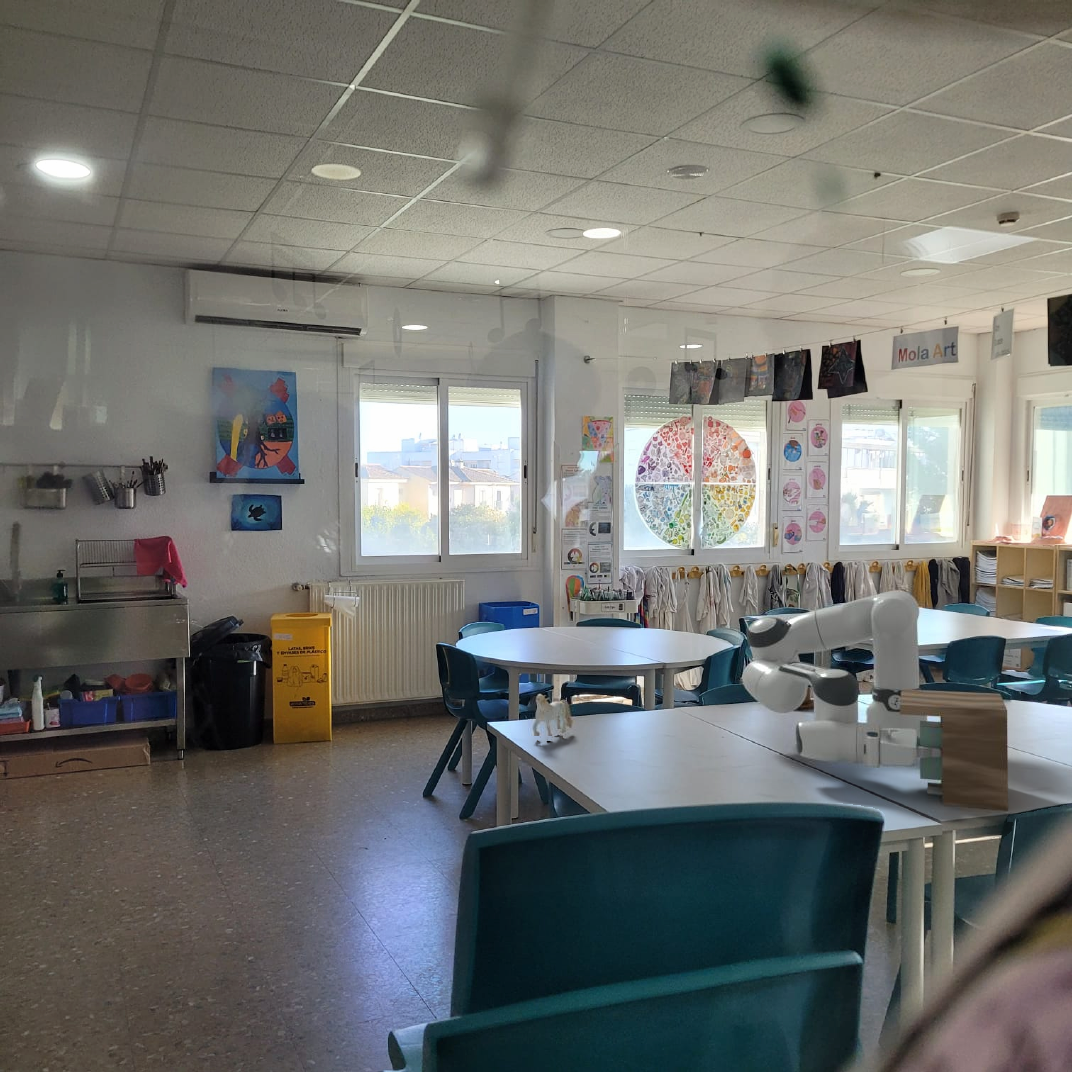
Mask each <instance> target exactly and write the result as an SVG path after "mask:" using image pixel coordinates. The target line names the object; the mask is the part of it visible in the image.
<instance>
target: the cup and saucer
mask: <svg viewBox="0 0 1072 1072" xmlns="http://www.w3.org/2000/svg"><path fill="white" fill-rule="evenodd" d="M812 708H813V709H814V699H812V700H811V687H809V686H808V688H807V695H806V698H805V700H804V701H803V703H802V704H801V705H800V706H799V707H798V708H797V709H796V710H807V709H812Z"/></svg>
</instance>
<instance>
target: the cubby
mask: <svg viewBox="0 0 1072 1072" xmlns="http://www.w3.org/2000/svg"><path fill="white" fill-rule="evenodd" d="M900 714H902V715H920V716H927V717H940V720H939V722H942V780H940V783H939V782H927V794H929V795H936V796H937V795H938V796H939V795H940V796H942V805H943V806H948V807H949V806H951V807H953V806H954V807H960V808H961V807H963V808H976V809H984V810H985V809H987V810H998V811H999V810H1001V811H1009V792H1008V791H1009V785H1008V784H1009V782H1008V781H1009V779H1008V777H1009V773H1008V772H1009V769H1008V768H1009V767H1008V764H1009V763H1008V761H1009V759H1008V756H1009V755H1008V708H1007V706H1006V704H1005V701H1004V699H1003V697H1002V695H1001V693H989V692H988V693H987V692H969V691H968V692H965V691H944V690H923V689H921V690H904V689H902V690H901V699H900Z"/></svg>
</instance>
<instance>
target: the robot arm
mask: <svg viewBox="0 0 1072 1072" xmlns="http://www.w3.org/2000/svg"><path fill="white" fill-rule="evenodd" d="M919 616H920V606H919V603H918V601H917V600H916V598H915V597H914V596H913V595H912V594H910V593H908V591H907V592H906V591H904V590H897V589H895V590H888V591H885V592H881V593H877V594H874V595H870V596H866V597H863V598H859V599H855V600H852V601H849V602H844V603H840V604H835V605H833V606H832V605H831V606H828V607H827V606H826V607H824V608H819V609H815V610H811V611H807V612H804V613H801V614H799V615H797V616H794V617H792V618H790V619H787V620H785V619H781V618H778V617H774V616H764V617H762V618H758V619H756V620H754V621H753V622H752V623H751V624H750V625H749V626H748V628H747V629H746V639H747V644H748V646H749V647H750V651H751V654H752V658H753V660H752V661H751V662H749V663H748V664H747V666H746V667H745V668H744V670H743V672H742V675H741V677H742V678H741V679H742V684H743V686H744V689H745V690H747V692H748V693H749V694H750V696H751V697H753V698H754V699H755V701H757V702H759V704H761V705H762V706H764V707H765V708H767V709H768V710H770V711H771V712H774V713H779V714H788V713H791V712H794V711H795V710H798V709H797V708H798V707H799V706H800V705H801V704H802V703H803V701H804V700H805V698H806V695H807V688H808V687H809V686H810V688H811V689H812V695H813V700H814V707H813V715H814V716H813V719H812V720H807V721H806V720H805V721H798V722H797V724H796V726H795V740H796V749H797V753H798V754H799V755H800V756H802V757H803V758H806V759H810V760H811V759H812V760H817V761H822V762H823V761H824V762H833V763H834V762H835V763H839V762H842V761H843V762H844V761H846V762H850V763H853V764H863V765H865V766H867V767H869V768H876V769H877V768H879V767H880V765H881V766H884V767H885V766H886V767H910V766H916V765H917V764H918V759H920V758H928V757H941V749H940V748H939V747H932V748H929V747H920V721H928V716H920V715H902V714H900V699H901V690H902V689H904V690H922V689H921V687H920V657H919V656H920V655H919V654H920V653H919V639H918V637H919V636H918V635H919V634H918V619H919ZM870 640H872V650H873V651H872V652H873V685H872V687H871V688H872V689H871V695H872V698H871V699H872V702H871V703H870V704H869V705H868V706H867V707H866V711H865V713H866V714H865V715H866V719H865V720H866V722H860V721H859V691H860V683H859V681H858V680H857V678H856V677H855V676H854V674H852V673H850V672H849V671H847V670H843V669H838V668H828V667H824V666H821V665H816V664H812V663H809V662H803V661H800V657H799V655H800V654H812V653H818V652H826V651H829V650H835V649H838V648H842V647H847V646H852V645H856V644H860V643H863V642H866V641H870Z"/></svg>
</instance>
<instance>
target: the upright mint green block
mask: <svg viewBox="0 0 1072 1072" xmlns="http://www.w3.org/2000/svg"><path fill="white" fill-rule="evenodd" d="M920 747H929V748H932V747H939V748H940V749H941V757H928V758H919V779H920V780H921V779H922V780H929V781H930V780H931V781H941V780H942V722H940V721H931V720H927V721H920Z"/></svg>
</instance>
